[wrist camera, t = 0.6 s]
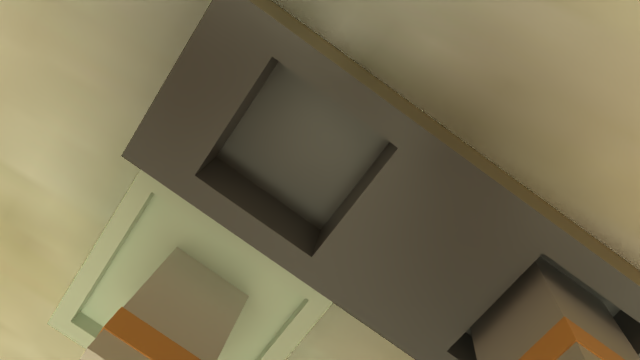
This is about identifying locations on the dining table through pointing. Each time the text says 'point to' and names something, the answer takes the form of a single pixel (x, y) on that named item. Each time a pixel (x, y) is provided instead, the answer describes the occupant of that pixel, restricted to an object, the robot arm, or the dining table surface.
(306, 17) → the dining table surface
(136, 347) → the plug
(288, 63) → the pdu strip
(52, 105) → the dining table surface
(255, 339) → the tray
